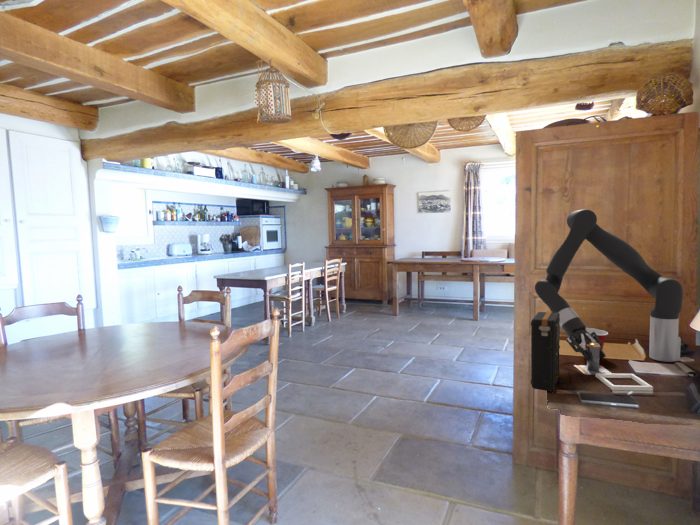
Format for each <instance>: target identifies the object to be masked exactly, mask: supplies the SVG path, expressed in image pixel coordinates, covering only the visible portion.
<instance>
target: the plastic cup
mask: <svg viewBox="0 0 700 525" xmlns="http://www.w3.org/2000/svg"><path fill="white" fill-rule="evenodd" d="M586 331H587V332H589V333H592V332H595V333H596V335H597V336H598V338H599V339H600V341H601V342H602V344H603V345H602V346H601V347H600V348H601V349H602V350H603V349H604V344H605V340H606V338H607V336H608V335H609V332H608V331H605V330H601V329H598V328H593V327H592V328H591V327H586ZM591 342H592V341H591ZM597 343H598V342H597ZM598 344H599V343H598ZM585 347H586V350H587V345H585ZM599 359H600V357H599Z"/></svg>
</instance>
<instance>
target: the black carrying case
mask: <svg viewBox="0 0 700 525" xmlns="http://www.w3.org/2000/svg"><path fill="white" fill-rule="evenodd" d="M559 321H560V314H559V313H558V312H556V313H553V312H551V310H549V311H548V310H547V311H539V312H537V313H536V314H535V316H534V317H533V318H532V320H531V321H530V326H531V327H530V328H531V332H530V334H531V340H530V341H531V342H530V343H531V344H530V348H531V350H530V353H531V354H530V356H531V357H530V359H531V360H530V361H531V363H530V364H531V368H530V373H531V374H530V375H531V376H530V377H531V378H530V385H531V387H532V389H534V390H540V391H546V392H551V393H555V391H556V385H557V383H559V382H558V381H559V380H558V378H560V376H561V373H560V349H561V345H560V339H561V337H560V336H561V334H560V333H561V331H560V330H561V325H560V324H559Z"/></svg>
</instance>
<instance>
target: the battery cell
mask: <svg viewBox="0 0 700 525" xmlns="http://www.w3.org/2000/svg"><path fill="white" fill-rule="evenodd" d="M599 348H600V344H598V343H594V342H589V343H587V351H588V352H589V353H590V355H591V356H592V357H593V360H591V361H589V362H588V361H587V360H586V365H587V370H589V371H595V372H596V371H599V365H600V358H599Z"/></svg>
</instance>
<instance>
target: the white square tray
mask: <svg viewBox="0 0 700 525" xmlns="http://www.w3.org/2000/svg"><path fill="white" fill-rule="evenodd" d="M595 378H597V379H598V380H599V381H601V383H603V384H604V385H605V386H606V387H608V388H610V390H609V391H610V392H611V393H612V394H614V393H615V394H629V393H628V392H630V391H633V393H632V394H654V386H652V385H651V384H649V383H647V382H646V381H645V380H643V379H642V378H640V377H639V376H636V374H634V373H613V372H611V373H596V374H595ZM607 378H608V379H632V380H633V381H635V382H636V383H638V384H639V385H624V384H623V385H620V384H617V385H616V384H613V383H612V382H611V381H610V380H608V379H607Z"/></svg>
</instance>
